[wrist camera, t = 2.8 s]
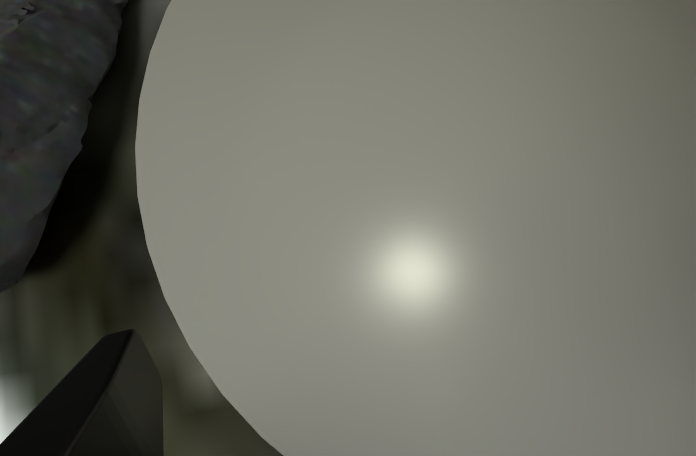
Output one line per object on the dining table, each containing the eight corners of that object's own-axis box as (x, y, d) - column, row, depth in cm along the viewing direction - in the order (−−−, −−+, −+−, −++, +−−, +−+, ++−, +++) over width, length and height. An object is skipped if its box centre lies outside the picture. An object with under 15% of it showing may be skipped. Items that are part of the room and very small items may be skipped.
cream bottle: (430, 479, 15) (649, 808, 3) (261, 327, 17) (-30, 160, 4) (568, 304, 16) (1119, 69, 4) (400, 171, 18) (469, -311, 5)
